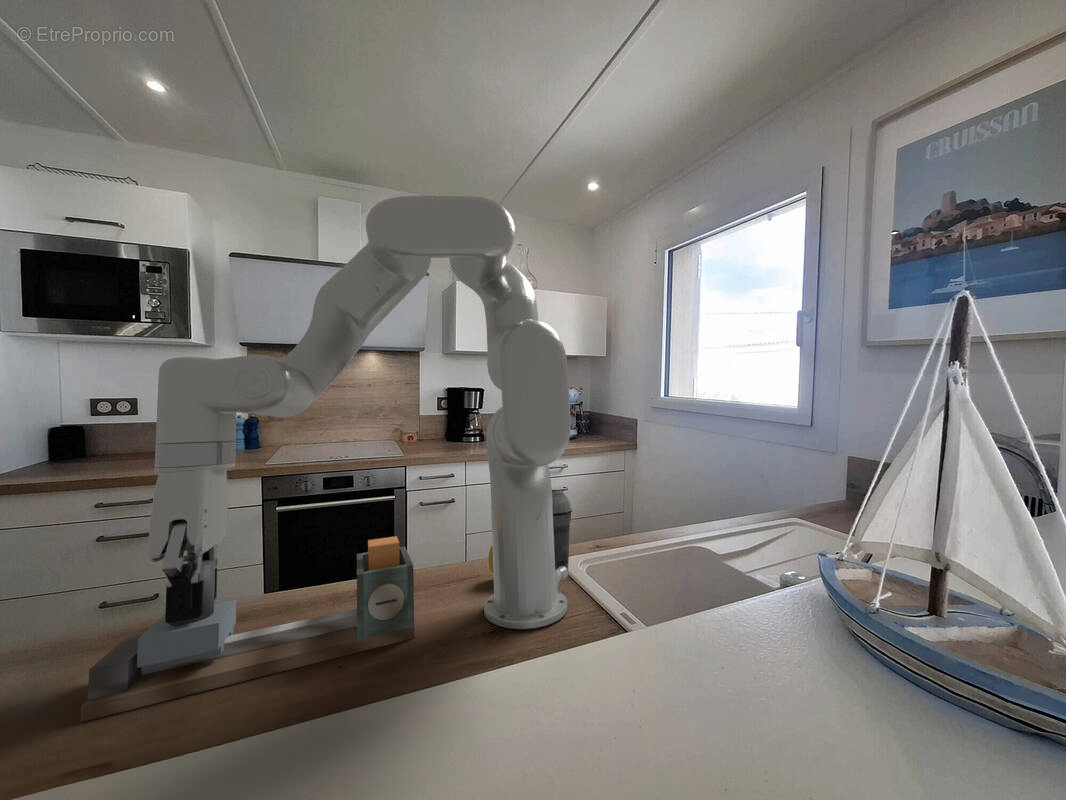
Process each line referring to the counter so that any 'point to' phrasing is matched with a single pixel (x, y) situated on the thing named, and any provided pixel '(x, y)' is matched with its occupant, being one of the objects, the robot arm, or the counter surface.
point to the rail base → (263, 647)
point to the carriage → (189, 631)
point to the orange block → (383, 553)
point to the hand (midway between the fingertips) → (192, 609)
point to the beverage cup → (561, 528)
